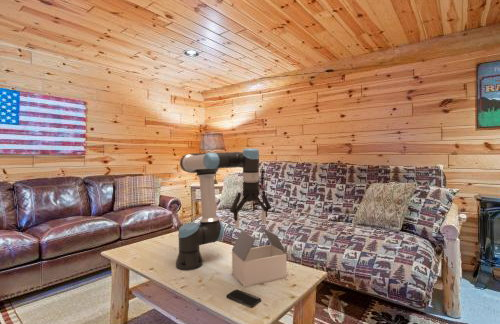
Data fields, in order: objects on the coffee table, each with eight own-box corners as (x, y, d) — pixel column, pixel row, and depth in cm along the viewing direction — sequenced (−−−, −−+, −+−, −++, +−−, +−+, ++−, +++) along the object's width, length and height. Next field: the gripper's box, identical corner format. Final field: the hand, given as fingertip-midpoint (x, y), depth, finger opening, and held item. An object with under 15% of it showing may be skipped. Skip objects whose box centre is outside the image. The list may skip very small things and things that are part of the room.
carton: (232, 274, 153) (232, 251, 152) (271, 265, 163) (271, 244, 162) (244, 287, 139) (244, 262, 138) (286, 277, 149) (286, 254, 148)
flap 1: (232, 250, 152) (231, 250, 152) (242, 230, 154) (241, 230, 154) (244, 261, 138) (243, 261, 138) (255, 238, 140) (254, 238, 140)
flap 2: (261, 227, 159) (262, 227, 159) (271, 244, 162) (271, 243, 162) (276, 235, 145) (276, 234, 145) (285, 253, 148) (286, 252, 148)
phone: (236, 288, 136) (262, 298, 127) (236, 291, 136) (262, 301, 127) (225, 295, 129) (251, 306, 120) (225, 298, 129) (251, 309, 120)
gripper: (228, 183, 126) (228, 230, 127) (278, 180, 136) (277, 224, 137) (223, 181, 133) (223, 226, 134) (270, 179, 143) (270, 220, 144)
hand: (250, 225), depth 136 cm, fingers open, 13 cm apart
